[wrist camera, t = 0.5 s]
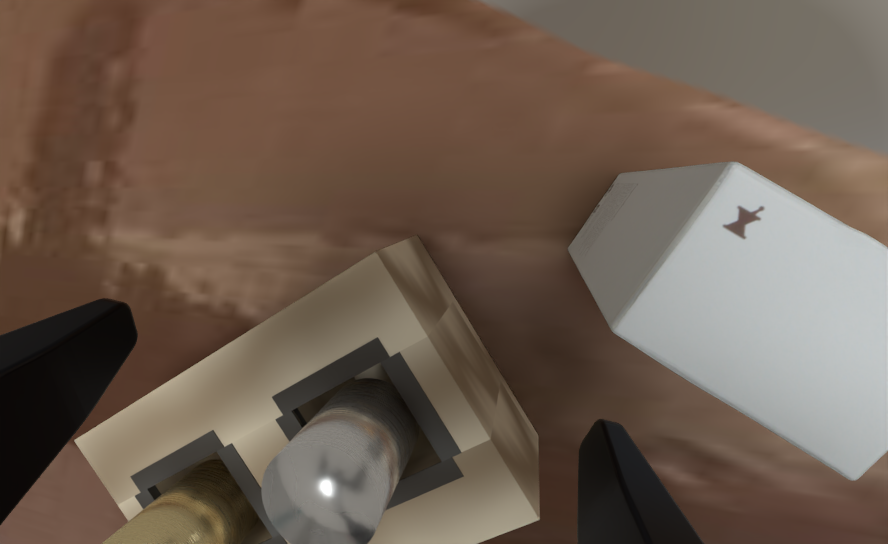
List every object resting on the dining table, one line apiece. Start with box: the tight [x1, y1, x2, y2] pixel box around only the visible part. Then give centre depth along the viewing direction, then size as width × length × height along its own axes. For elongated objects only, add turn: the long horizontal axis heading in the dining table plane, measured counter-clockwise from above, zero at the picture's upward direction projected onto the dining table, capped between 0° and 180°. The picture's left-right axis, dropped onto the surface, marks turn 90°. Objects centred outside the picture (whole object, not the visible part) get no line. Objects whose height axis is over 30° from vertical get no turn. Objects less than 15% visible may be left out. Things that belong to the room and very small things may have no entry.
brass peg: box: [102, 459, 260, 544], centre depth 19 cm, size 4×4×5 cm
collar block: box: [74, 235, 540, 544], centre depth 22 cm, size 12×18×6 cm, turn 122°
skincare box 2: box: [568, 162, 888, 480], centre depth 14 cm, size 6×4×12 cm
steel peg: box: [261, 378, 419, 544], centre depth 16 cm, size 4×4×5 cm
